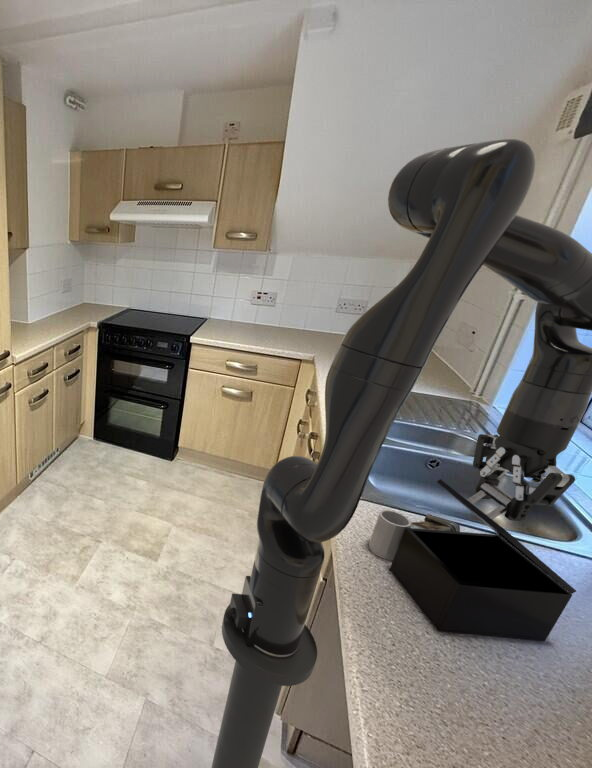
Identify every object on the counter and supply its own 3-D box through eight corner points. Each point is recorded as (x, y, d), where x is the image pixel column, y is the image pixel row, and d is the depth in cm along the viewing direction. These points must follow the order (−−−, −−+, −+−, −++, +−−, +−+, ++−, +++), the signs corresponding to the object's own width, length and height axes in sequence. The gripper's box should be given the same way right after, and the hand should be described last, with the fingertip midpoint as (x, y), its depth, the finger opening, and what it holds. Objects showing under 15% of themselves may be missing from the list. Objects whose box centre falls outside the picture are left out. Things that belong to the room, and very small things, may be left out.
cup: (377, 559, 84) (389, 525, 81) (363, 541, 89) (374, 508, 86) (404, 561, 84) (417, 527, 81) (388, 543, 89) (400, 510, 86)
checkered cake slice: (391, 518, 97) (412, 510, 87) (425, 514, 96) (450, 506, 85) (409, 562, 93) (433, 559, 82) (445, 558, 91) (474, 555, 81)
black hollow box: (438, 631, 69) (459, 585, 66) (389, 569, 82) (405, 527, 78) (545, 641, 68) (573, 594, 64) (478, 576, 81) (498, 534, 77)
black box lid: (501, 533, 62) (536, 511, 60) (436, 481, 74) (463, 462, 73) (571, 594, 64) (607, 574, 63) (497, 533, 77) (525, 516, 75)
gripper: (476, 394, 69) (441, 481, 75) (563, 432, 55) (512, 535, 61) (524, 398, 68) (485, 485, 74) (623, 437, 55) (566, 540, 61)
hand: (497, 507), depth 68 cm, fingers closed on black box lid, 5 cm apart
